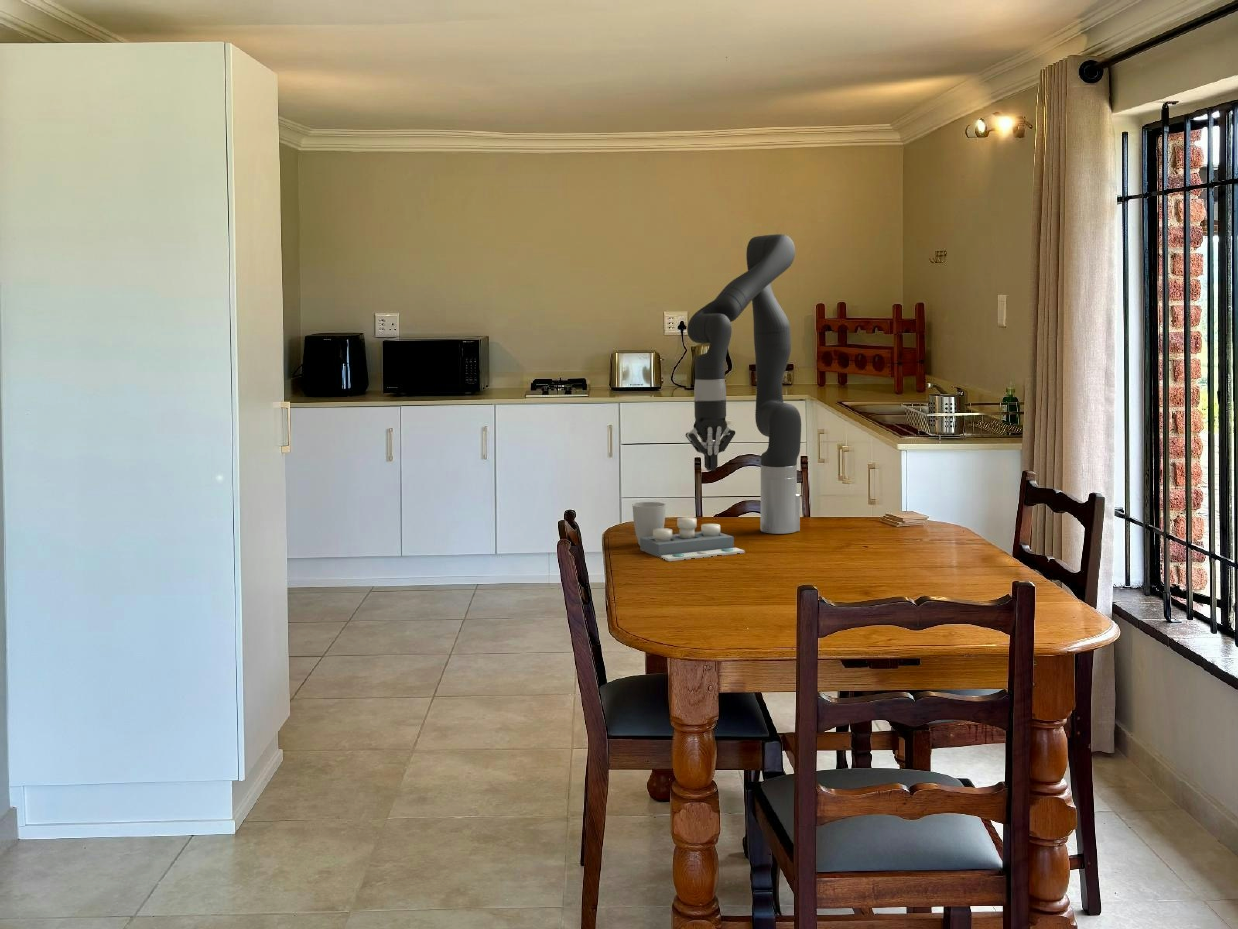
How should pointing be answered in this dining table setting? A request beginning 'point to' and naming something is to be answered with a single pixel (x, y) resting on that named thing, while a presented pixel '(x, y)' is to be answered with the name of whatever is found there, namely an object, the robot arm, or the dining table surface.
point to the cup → (648, 518)
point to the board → (685, 544)
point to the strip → (702, 554)
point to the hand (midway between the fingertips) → (710, 470)
